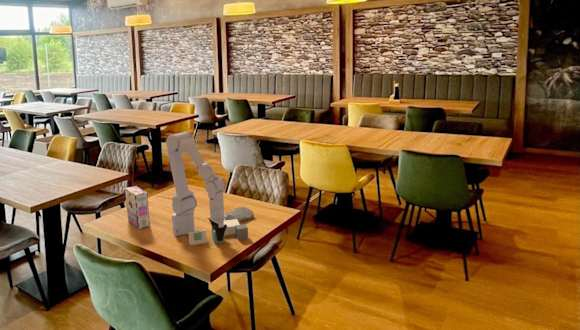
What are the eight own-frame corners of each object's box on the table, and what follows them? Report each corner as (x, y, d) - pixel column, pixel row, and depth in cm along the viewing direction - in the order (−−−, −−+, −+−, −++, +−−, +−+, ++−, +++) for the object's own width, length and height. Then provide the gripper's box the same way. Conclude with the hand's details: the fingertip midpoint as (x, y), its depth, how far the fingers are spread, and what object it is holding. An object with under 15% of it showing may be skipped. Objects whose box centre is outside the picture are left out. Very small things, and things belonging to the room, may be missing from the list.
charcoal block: (238, 240, 198) (237, 229, 197) (235, 236, 202) (235, 225, 201) (248, 238, 200) (247, 227, 198) (245, 234, 204) (244, 224, 202)
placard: (190, 245, 193) (189, 234, 192) (188, 242, 196) (188, 231, 195) (206, 242, 196) (206, 231, 194) (205, 239, 198) (204, 228, 197)
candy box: (150, 226, 213) (147, 192, 208) (138, 230, 209) (134, 195, 205) (139, 218, 223) (136, 185, 219) (127, 220, 220) (124, 187, 216)
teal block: (214, 243, 195) (213, 232, 194) (212, 239, 199) (211, 228, 198) (224, 241, 197) (224, 230, 195) (222, 237, 201) (221, 227, 199)
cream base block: (222, 236, 203) (222, 227, 202) (219, 229, 210) (219, 221, 209) (240, 234, 205) (240, 225, 204) (237, 227, 212) (236, 219, 211)
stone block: (255, 220, 225) (240, 212, 230) (256, 211, 223) (241, 203, 228) (238, 229, 216) (223, 220, 221) (239, 220, 214) (223, 211, 219)
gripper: (230, 211, 189) (231, 242, 192) (222, 200, 202) (223, 229, 205) (213, 213, 186) (214, 245, 190) (206, 202, 199) (207, 232, 203)
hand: (218, 237), depth 197 cm, fingers open, 7 cm apart
